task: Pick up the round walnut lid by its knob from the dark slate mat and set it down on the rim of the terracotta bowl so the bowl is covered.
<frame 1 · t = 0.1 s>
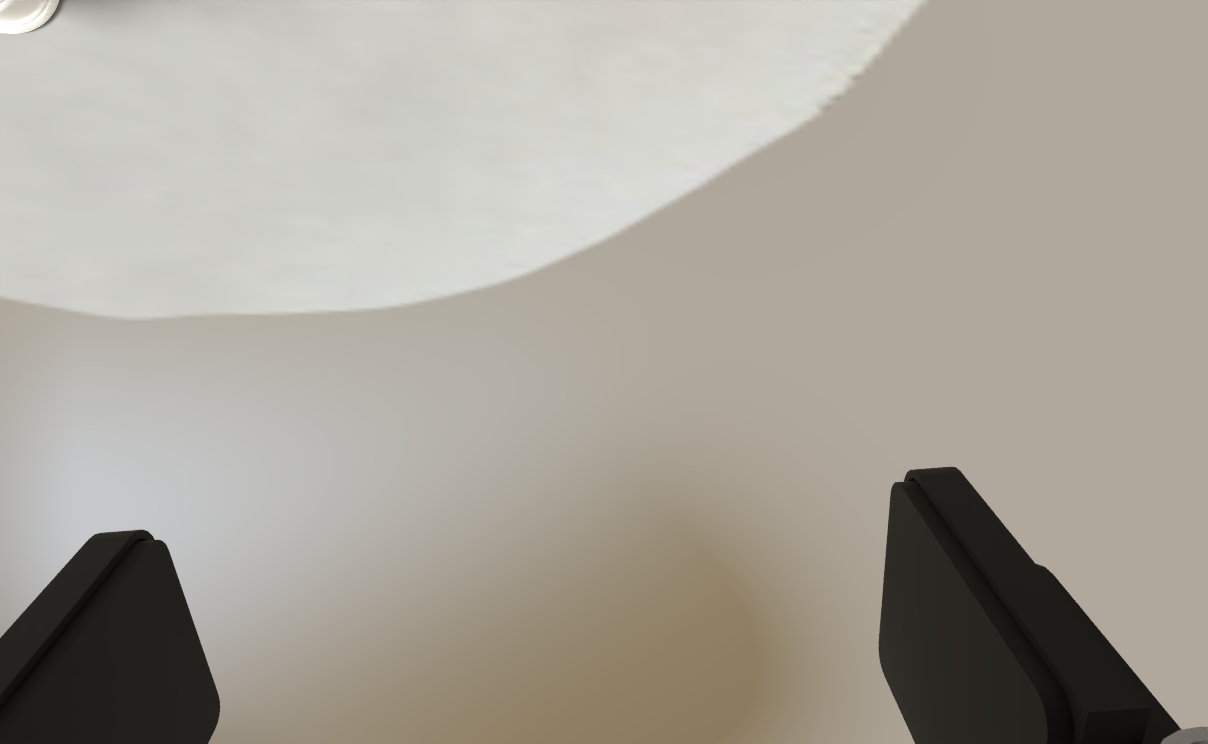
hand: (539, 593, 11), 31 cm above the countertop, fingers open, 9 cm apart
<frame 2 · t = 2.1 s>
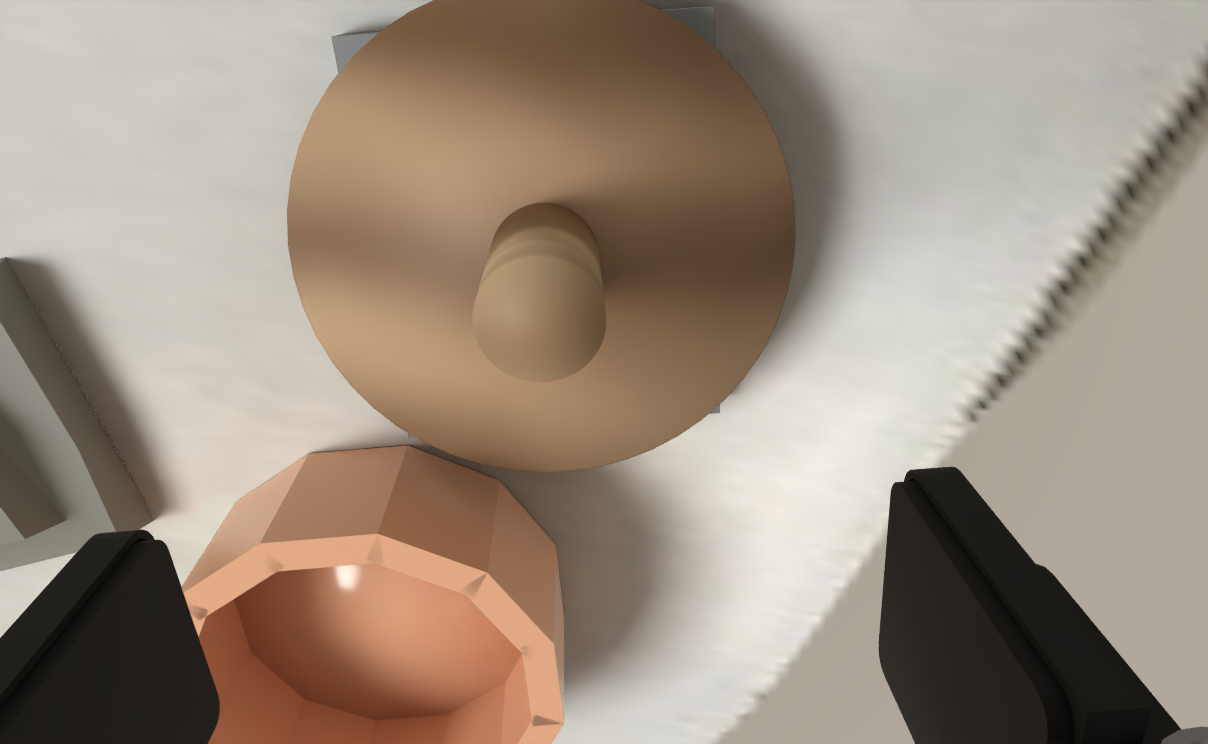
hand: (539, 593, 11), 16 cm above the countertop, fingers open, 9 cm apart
lid: (545, 244, 24), point 1 cm above the countertop, touching mat
mat: (546, 235, 25), on the countertop
bowl: (391, 596, 31), on the countertop
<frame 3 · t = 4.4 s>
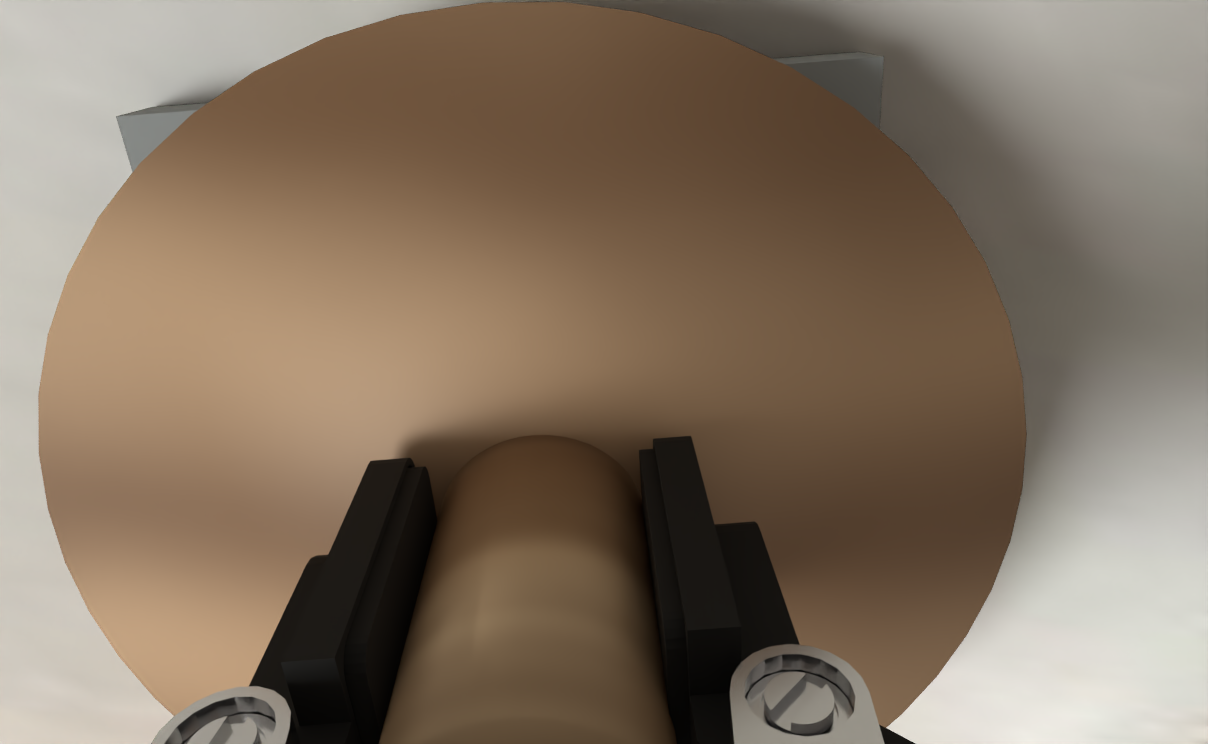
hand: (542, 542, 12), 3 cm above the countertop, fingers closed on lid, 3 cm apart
lid: (546, 482, 13), point 1 cm above the countertop, touching gripper, mat
mat: (547, 451, 14), on the countertop
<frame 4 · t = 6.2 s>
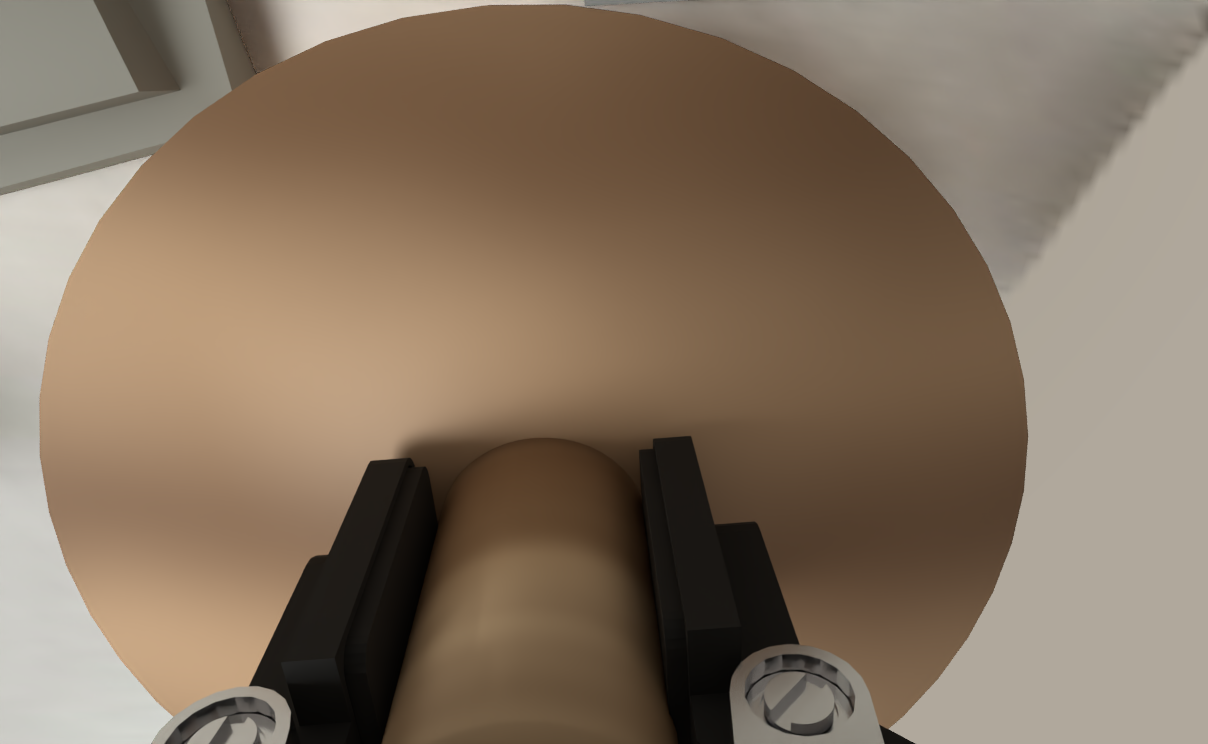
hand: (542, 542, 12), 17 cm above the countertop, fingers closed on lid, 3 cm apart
lid: (547, 484, 13), point 15 cm above the countertop, touching gripper
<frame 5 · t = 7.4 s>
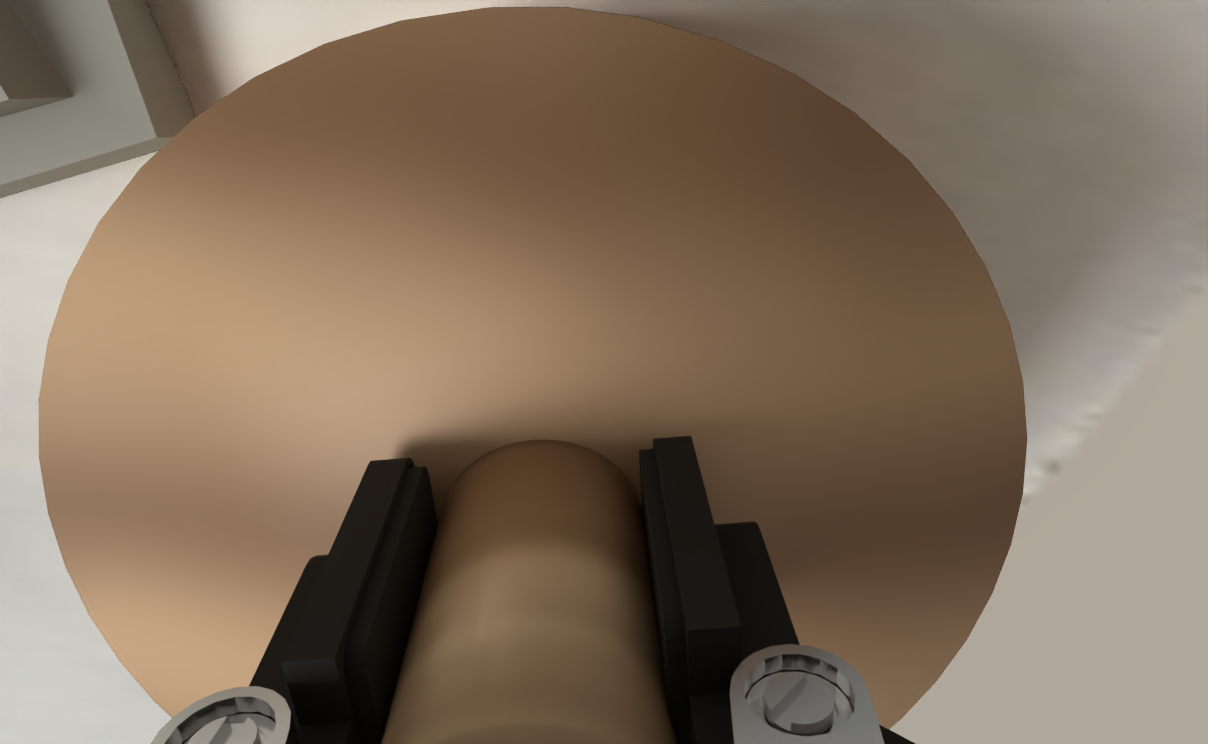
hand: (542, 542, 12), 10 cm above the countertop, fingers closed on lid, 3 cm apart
lid: (546, 486, 13), point 9 cm above the countertop, touching gripper
when the fingers open (8 cm above the countertop, at t = 8.4 s): lid drops 1 cm, resting on bowl.
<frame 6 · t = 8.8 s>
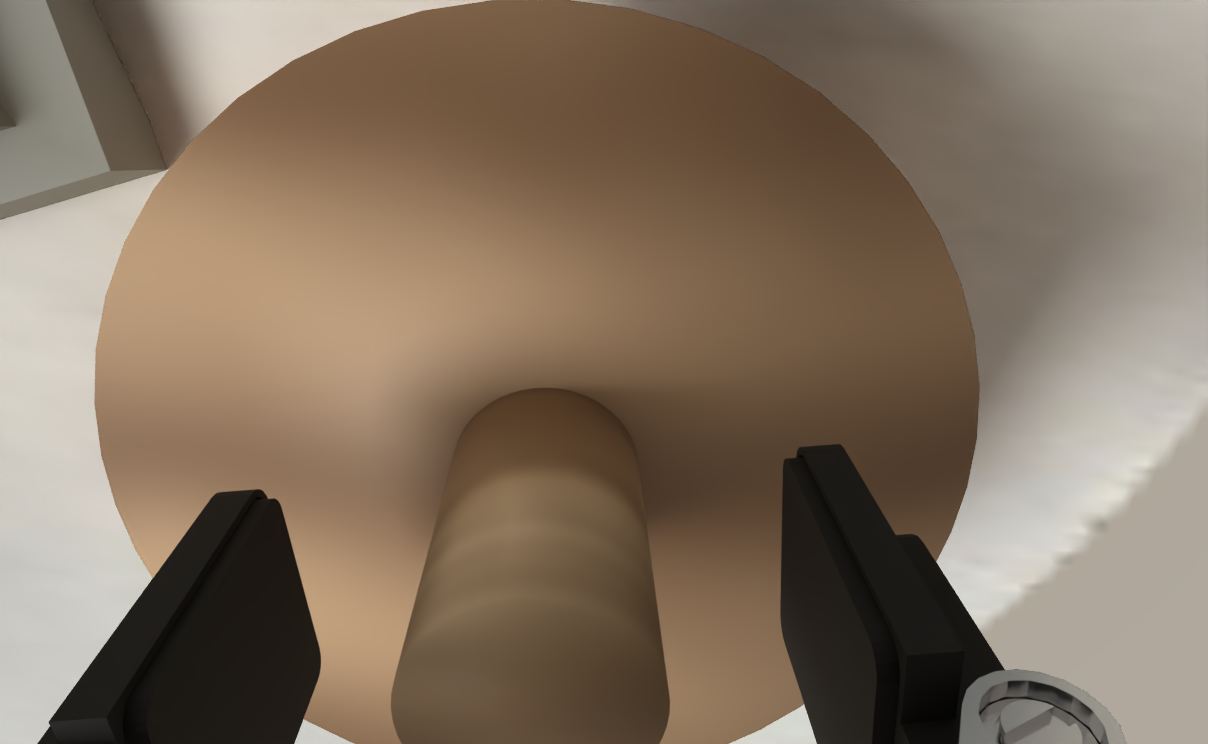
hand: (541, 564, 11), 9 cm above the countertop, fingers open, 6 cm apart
lid: (548, 436, 15), point 5 cm above the countertop, touching bowl
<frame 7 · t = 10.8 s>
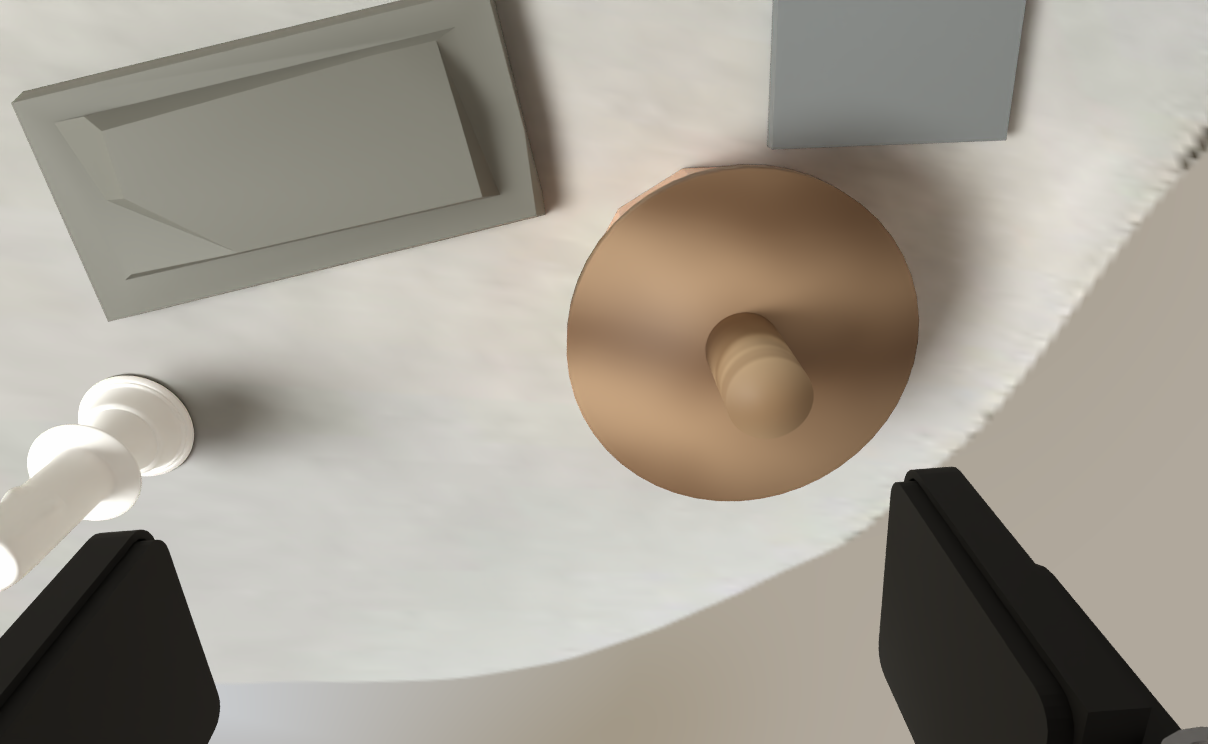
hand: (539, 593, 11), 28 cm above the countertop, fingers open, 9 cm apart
lid: (737, 338, 35), point 5 cm above the countertop, touching bowl
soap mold: (300, 155, 37), on the countertop
bowl: (718, 302, 39), on the countertop
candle: (140, 423, 41), on the countertop
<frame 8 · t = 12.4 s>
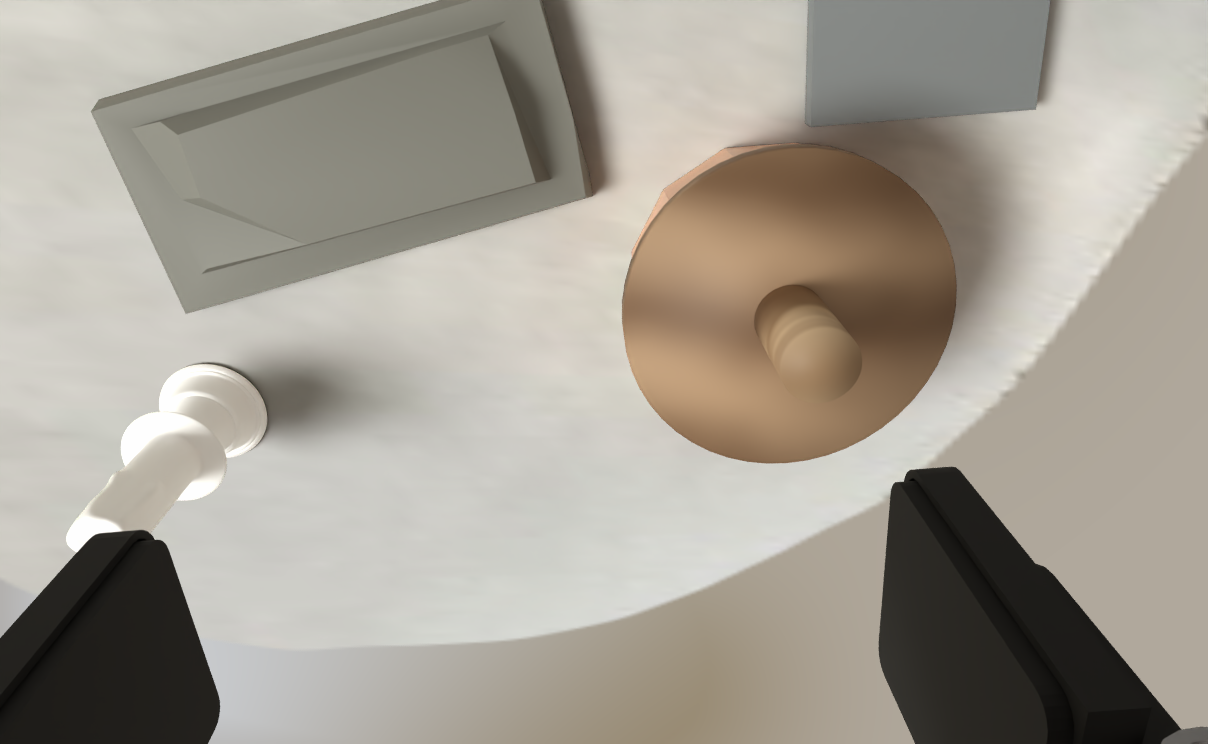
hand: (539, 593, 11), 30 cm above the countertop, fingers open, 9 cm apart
lid: (783, 309, 36), point 5 cm above the countertop, touching bowl
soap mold: (358, 149, 39), on the countertop
bowl: (760, 275, 41), on the countertop
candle: (216, 408, 43), on the countertop
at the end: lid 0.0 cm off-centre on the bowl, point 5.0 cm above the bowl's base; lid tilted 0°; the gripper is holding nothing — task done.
